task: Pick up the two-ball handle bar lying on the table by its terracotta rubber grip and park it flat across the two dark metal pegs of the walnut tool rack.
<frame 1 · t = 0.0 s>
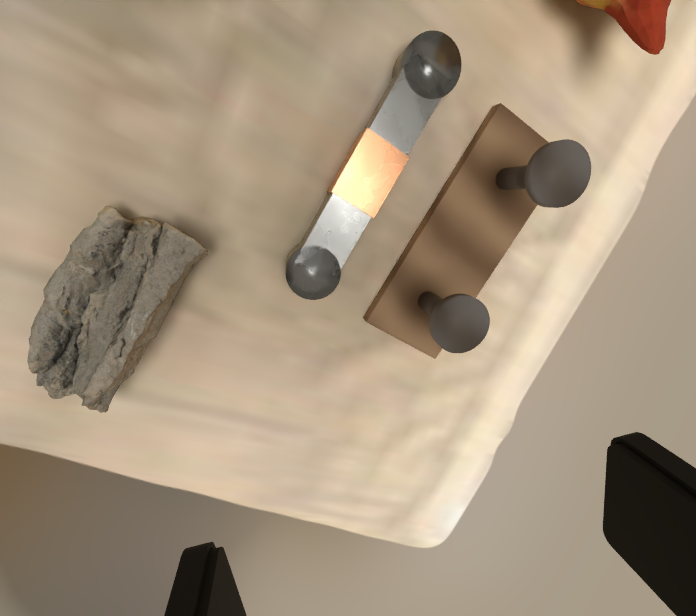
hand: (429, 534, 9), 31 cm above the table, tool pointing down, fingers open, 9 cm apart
rack: (458, 239, 40), on the table
two-ball handle bar: (362, 176, 37), on the table
rock: (122, 303, 37), on the table
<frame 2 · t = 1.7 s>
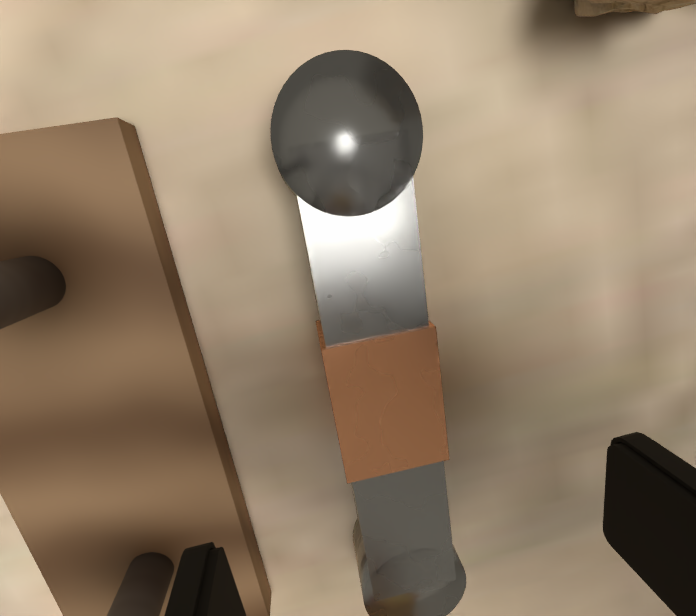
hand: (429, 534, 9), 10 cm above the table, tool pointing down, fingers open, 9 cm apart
rack: (116, 424, 18), on the table
two-ball handle bar: (371, 369, 19), on the table
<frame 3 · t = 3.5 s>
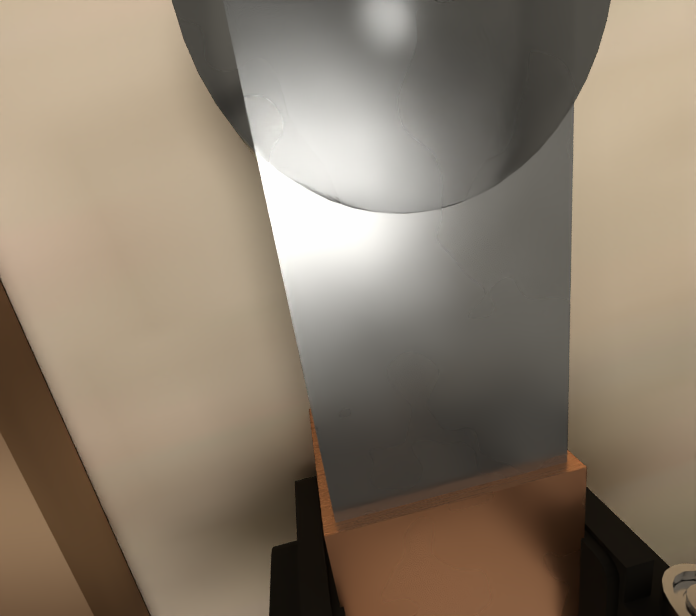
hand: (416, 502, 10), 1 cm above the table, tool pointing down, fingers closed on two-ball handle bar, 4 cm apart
two-ball handle bar: (408, 485, 10), on the table, touching gripper
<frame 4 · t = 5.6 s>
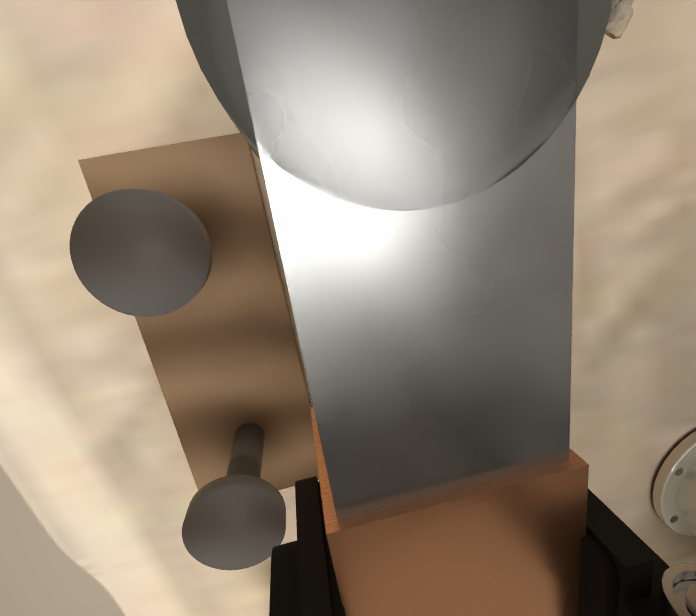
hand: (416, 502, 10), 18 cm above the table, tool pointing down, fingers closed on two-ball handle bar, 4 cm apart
rack: (226, 336, 26), on the table
two-ball handle bar: (409, 484, 10), point 17 cm above the table, touching gripper
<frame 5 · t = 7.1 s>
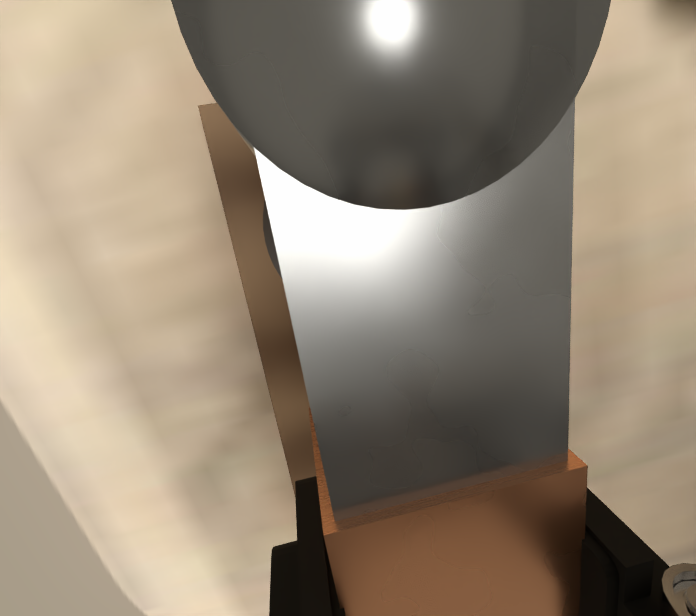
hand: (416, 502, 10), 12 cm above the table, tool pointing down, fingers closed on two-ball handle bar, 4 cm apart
rack: (347, 341, 21), on the table
two-ball handle bar: (408, 484, 10), point 11 cm above the table, touching gripper
when the fingers open (11 cm above the table, at t = 7.9 s): two-ball handle bar stays where it is, resting on rack.
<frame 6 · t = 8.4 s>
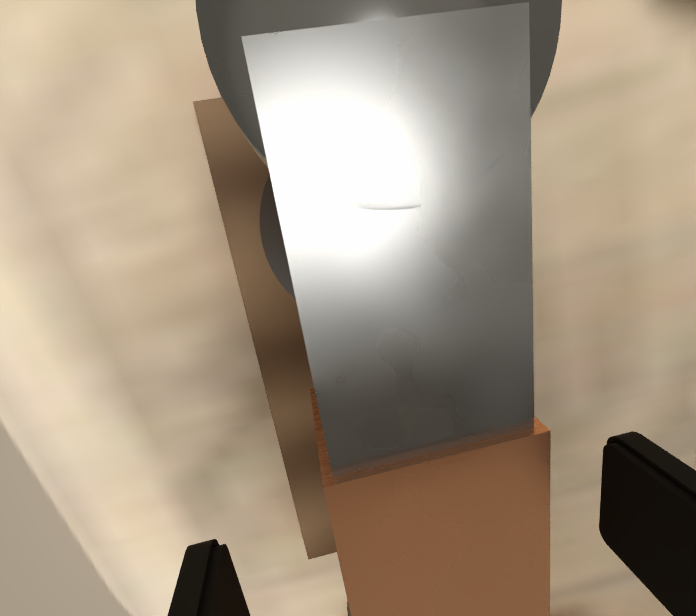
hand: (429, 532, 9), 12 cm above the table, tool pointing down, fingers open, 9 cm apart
rack: (347, 344, 20), on the table
two-ball handle bar: (400, 460, 11), point 9 cm above the table, touching rack
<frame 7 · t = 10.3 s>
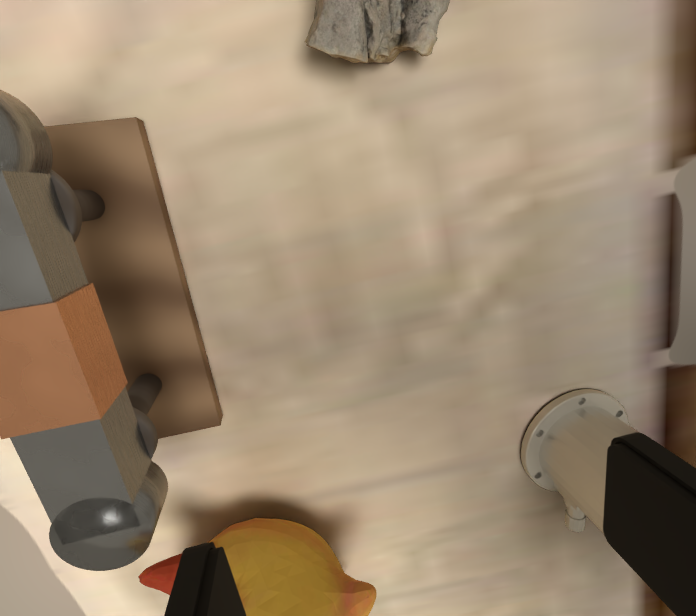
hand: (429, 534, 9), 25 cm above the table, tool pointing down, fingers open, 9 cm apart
toy: (251, 540, 39), on the table
rack: (128, 296, 30), on the table
two-ball handle bar: (68, 342, 21), point 9 cm above the table, touching rack
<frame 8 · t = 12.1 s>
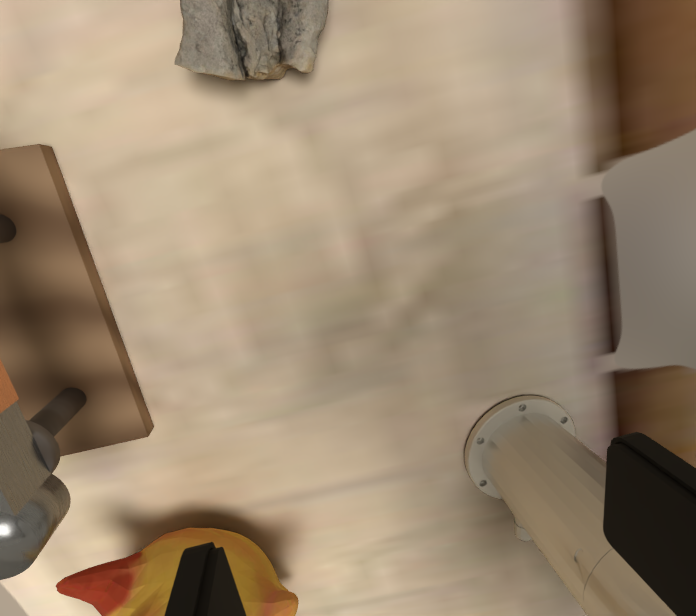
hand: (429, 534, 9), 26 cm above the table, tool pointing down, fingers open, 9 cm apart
toy: (194, 549, 40), on the table
rack: (50, 313, 31), on the table
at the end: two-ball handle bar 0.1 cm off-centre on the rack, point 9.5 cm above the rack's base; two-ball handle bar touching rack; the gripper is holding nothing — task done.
